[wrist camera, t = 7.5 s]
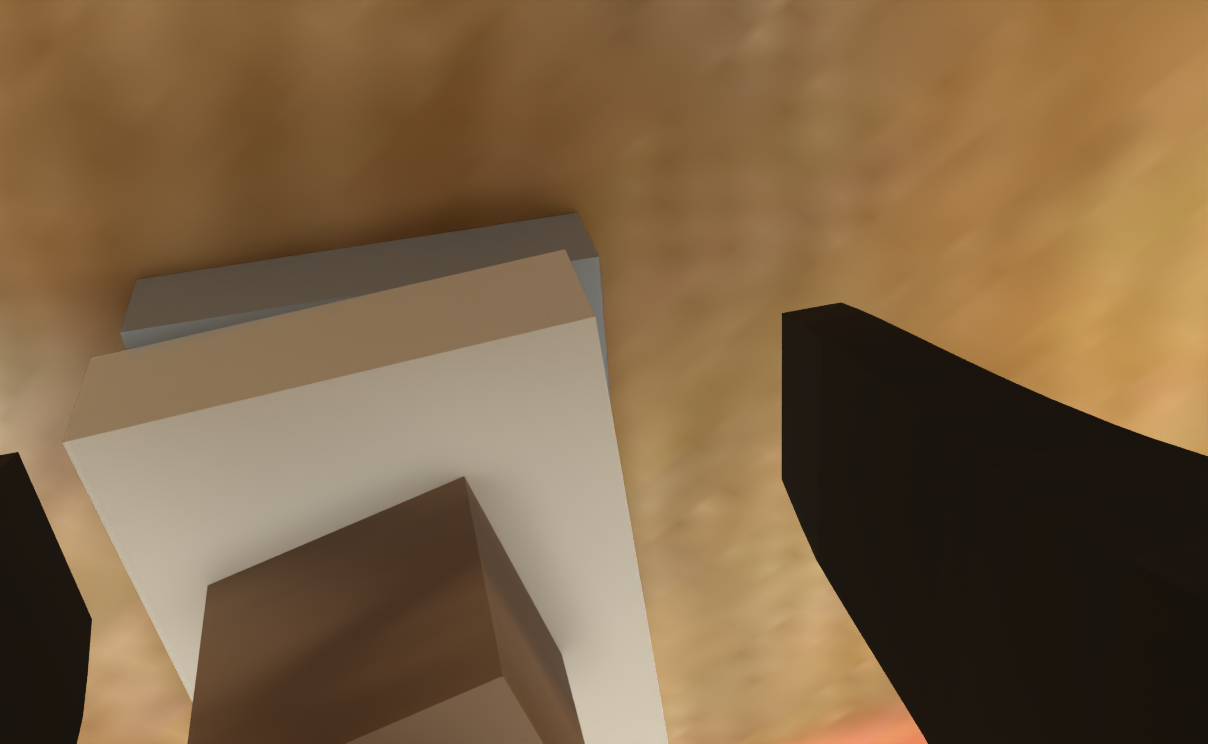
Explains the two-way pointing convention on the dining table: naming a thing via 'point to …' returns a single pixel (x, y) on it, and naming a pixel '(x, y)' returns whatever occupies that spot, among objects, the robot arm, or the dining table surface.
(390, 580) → the walnut cube
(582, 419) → the tower top block
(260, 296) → the tower base block
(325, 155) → the dining table surface
